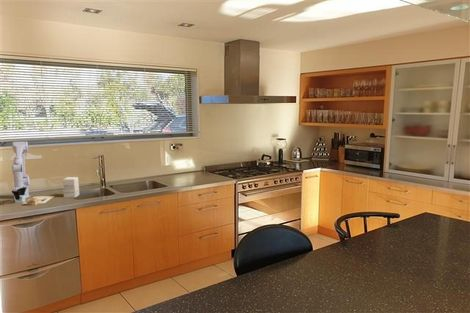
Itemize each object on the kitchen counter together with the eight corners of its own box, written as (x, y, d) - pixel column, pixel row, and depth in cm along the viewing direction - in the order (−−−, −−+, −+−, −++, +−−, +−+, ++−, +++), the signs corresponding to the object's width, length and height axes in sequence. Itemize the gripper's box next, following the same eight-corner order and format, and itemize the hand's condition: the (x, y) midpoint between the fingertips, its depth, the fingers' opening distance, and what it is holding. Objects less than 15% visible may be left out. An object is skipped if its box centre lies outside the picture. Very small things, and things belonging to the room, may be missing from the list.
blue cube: (15, 203, 245) (14, 196, 244) (18, 201, 250) (17, 195, 249) (22, 203, 246) (22, 196, 245) (25, 201, 251) (25, 195, 250)
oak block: (26, 205, 238) (26, 200, 237) (30, 203, 243) (29, 198, 242) (35, 205, 239) (35, 200, 238) (38, 203, 244) (38, 198, 243)
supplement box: (68, 195, 270) (67, 176, 268) (79, 194, 271) (78, 176, 269) (63, 197, 261) (62, 179, 259) (75, 197, 262) (74, 179, 260)
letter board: (22, 204, 242) (22, 203, 242) (34, 197, 262) (34, 196, 262) (44, 203, 245) (44, 203, 245) (54, 196, 265) (54, 195, 265)
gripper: (20, 182, 239) (21, 200, 241) (28, 178, 253) (30, 195, 255) (9, 182, 238) (10, 201, 240) (18, 178, 252) (20, 196, 254)
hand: (20, 198), depth 247 cm, fingers open, 7 cm apart
